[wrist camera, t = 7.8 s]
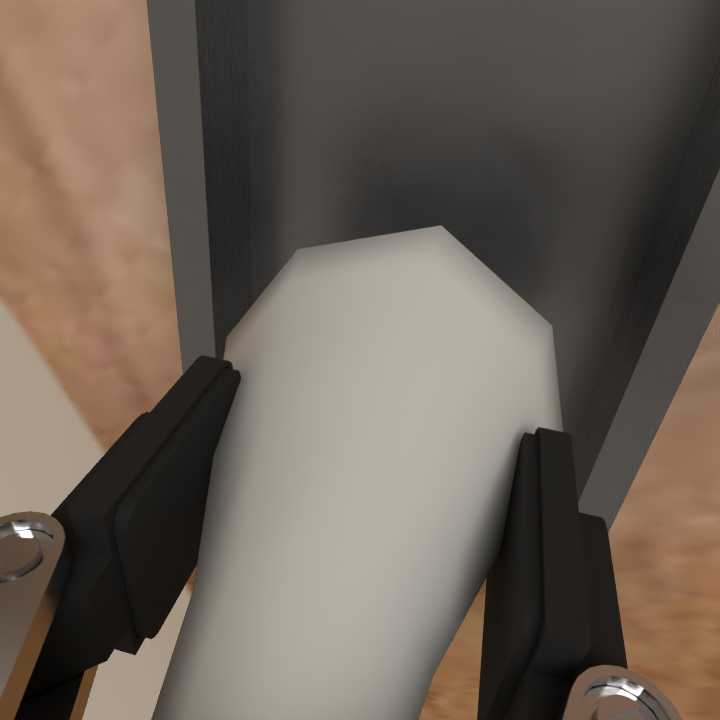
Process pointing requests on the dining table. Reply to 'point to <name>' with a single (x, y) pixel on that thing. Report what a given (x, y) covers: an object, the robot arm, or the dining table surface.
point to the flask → (358, 481)
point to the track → (462, 173)
